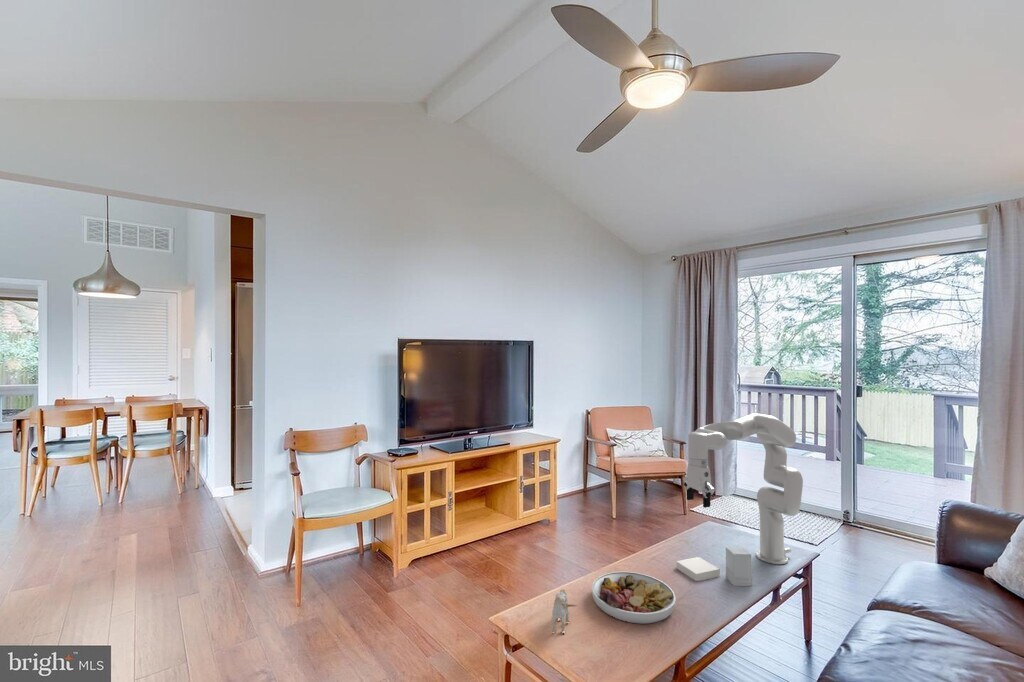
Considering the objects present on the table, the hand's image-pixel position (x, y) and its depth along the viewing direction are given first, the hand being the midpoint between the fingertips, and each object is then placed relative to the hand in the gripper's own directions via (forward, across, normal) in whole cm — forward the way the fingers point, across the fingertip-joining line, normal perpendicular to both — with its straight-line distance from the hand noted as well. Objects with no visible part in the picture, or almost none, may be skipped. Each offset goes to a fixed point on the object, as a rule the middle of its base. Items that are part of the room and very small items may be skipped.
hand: (698, 503), depth 193 cm
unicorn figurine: (+30, -16, +68) cm, 76 cm away
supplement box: (+30, -9, -12) cm, 34 cm away
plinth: (+30, +3, -2) cm, 30 cm away
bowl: (+31, -9, +38) cm, 50 cm away
